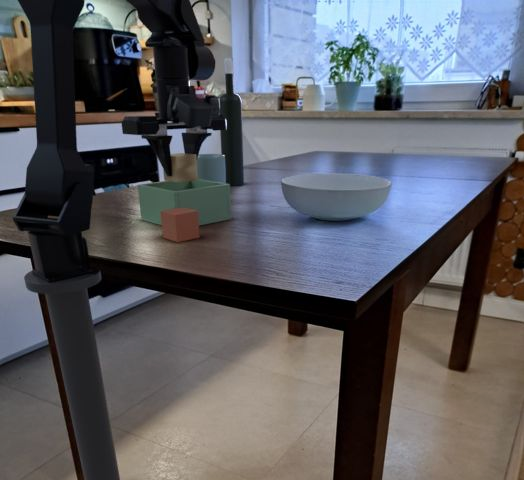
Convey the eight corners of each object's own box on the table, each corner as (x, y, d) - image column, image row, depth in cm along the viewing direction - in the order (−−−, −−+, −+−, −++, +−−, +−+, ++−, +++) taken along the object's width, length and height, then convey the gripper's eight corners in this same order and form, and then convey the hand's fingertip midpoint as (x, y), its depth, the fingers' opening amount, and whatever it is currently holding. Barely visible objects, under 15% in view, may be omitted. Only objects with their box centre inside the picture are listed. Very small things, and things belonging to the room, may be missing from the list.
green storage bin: (177, 230, 93) (174, 192, 90) (141, 219, 101) (137, 184, 99) (231, 219, 101) (230, 184, 98) (193, 210, 109) (191, 177, 106)
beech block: (177, 183, 93) (175, 156, 91) (164, 180, 96) (161, 154, 94) (198, 180, 95) (196, 154, 94) (184, 178, 98) (182, 152, 97)
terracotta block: (177, 242, 85) (175, 214, 83) (162, 237, 88) (160, 210, 86) (199, 237, 88) (197, 210, 86) (184, 233, 91) (182, 207, 89)
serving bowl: (346, 234, 88) (349, 192, 85) (259, 217, 101) (258, 181, 98) (408, 215, 102) (412, 178, 99) (324, 202, 115) (325, 170, 112)
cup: (213, 198, 122) (211, 153, 117) (233, 202, 116) (231, 155, 112) (185, 202, 117) (181, 155, 113) (204, 207, 112) (201, 158, 107)
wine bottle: (240, 186, 138) (236, 57, 124) (220, 185, 139) (213, 57, 126) (246, 182, 143) (242, 58, 129) (226, 182, 144) (220, 59, 131)
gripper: (150, 77, 77) (160, 185, 84) (244, 78, 89) (247, 173, 95) (114, 79, 85) (126, 178, 92) (205, 80, 96) (210, 168, 103)
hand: (180, 174), depth 95 cm, fingers closed on beech block, 4 cm apart
